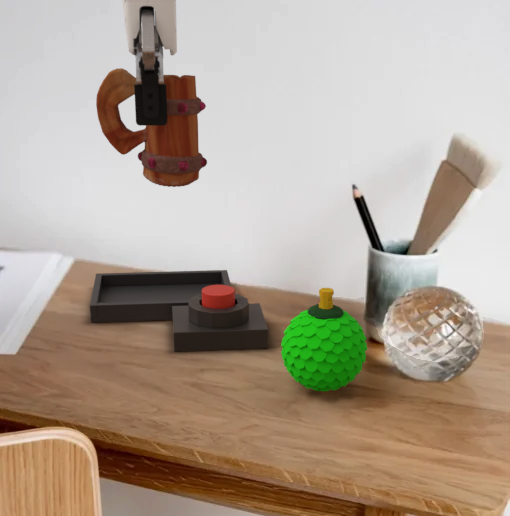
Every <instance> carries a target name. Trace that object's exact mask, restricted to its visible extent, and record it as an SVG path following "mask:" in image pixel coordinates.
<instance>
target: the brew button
mask: <svg viewBox="0 0 510 516" xmlns="http://www.w3.org/2000/svg"><path fill="white" fill-rule="evenodd" d="M235 294H236V289H235V288H234V287H233V286H232V285H231V286H227V285H210V286H206V287H204V288H203V289H202V306H204V307H207V308H213V309H225V308H229V307H233V306H235Z"/></svg>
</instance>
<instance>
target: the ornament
mask: <svg viewBox="0 0 510 516" xmlns="http://www.w3.org/2000/svg"><path fill="white" fill-rule="evenodd" d="M334 294H335V291H334V288H331V287H321V288H320V289H318V295H319V302H318V303H316V304H314V305H312V306H310V307H309V308H308V309H306V310H303V311H301V312H299V314H298V315H296V316H294V317H293V318H292V319H291V320H290V321H289V323H290V324H288V326H287V327H286V328H285V330H284V331H283V335H284V336H283V337H282V338H281V343H280V344H281V345H280V347H281V352H280V354H281V357H282V358H281V359H282V360H283V366H284V367H285V369H286V371H287V372H288V373H289V375H290V377H291V378H293V380H294V381H295V382H296V383H299V384H300V385H301V386H303V387H304V388H306V389H307V390H309V389H311V390H313V391H315V392H329V391H337V390H339V389H340V388H342V387H344V388H345V387H346V386H347V385H348V384H349V383H351V382H353V381H355V378H356V376H357V375H359V374H360V373H361V371H362V369H363V364H364V363H365V364H366V358H367V355H366V351H368V344H367V342H366V341H367V337H366V335H365V331H364V330H363V327H362V325H360V323H359V321H358V320H356V318H354V317H353V316H352V315H351V314H349V312H348V311H346V310H344V309H342V308H341V307H340V306H338V305H336V304H334V301H333V296H334Z"/></svg>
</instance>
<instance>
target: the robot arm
mask: <svg viewBox="0 0 510 516" xmlns="http://www.w3.org/2000/svg"><path fill="white" fill-rule="evenodd" d="M122 9H123V19H124V27H125V35H126V42H127V48H128V52H129V53H130V54H131V55H133V56H134V57H135V78H136V83H137V84H134V89H135V95H134V106H135V107H134V108H135V109H134V111H135V123H136V125H137V126H146V125H166V124H167V96H166V84H164V78H163V75H164V50H169V53H170V54H169V55H170V56H175V55H176V54H177V53H178V37H177V36H178V33H177V31H178V30H177V0H122ZM158 81H159V84H158Z"/></svg>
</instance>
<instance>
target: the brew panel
mask: <svg viewBox="0 0 510 516" xmlns="http://www.w3.org/2000/svg"><path fill="white" fill-rule="evenodd" d="M172 319H173V320H172V335H173V336H172V337H173V351H174V353H178V352H202V351H203V352H204V351H227V350H231V351H232V350H256V349H257V350H258V349H260V350H261V349H269V327H268V325H267V322H266V318H265V315H264V312H263V309H262V306H261V304H260V302H257V303H256V302H255V303H250V302H249V300H248V298H247V297H245V296H244V295H241V294H239V293H235V306H233V307H229V308H225V309H213V308H207V307H204V306H202V294H199V295H195V296H194V297H192V298H191V299H189V300H188V306H172Z"/></svg>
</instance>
